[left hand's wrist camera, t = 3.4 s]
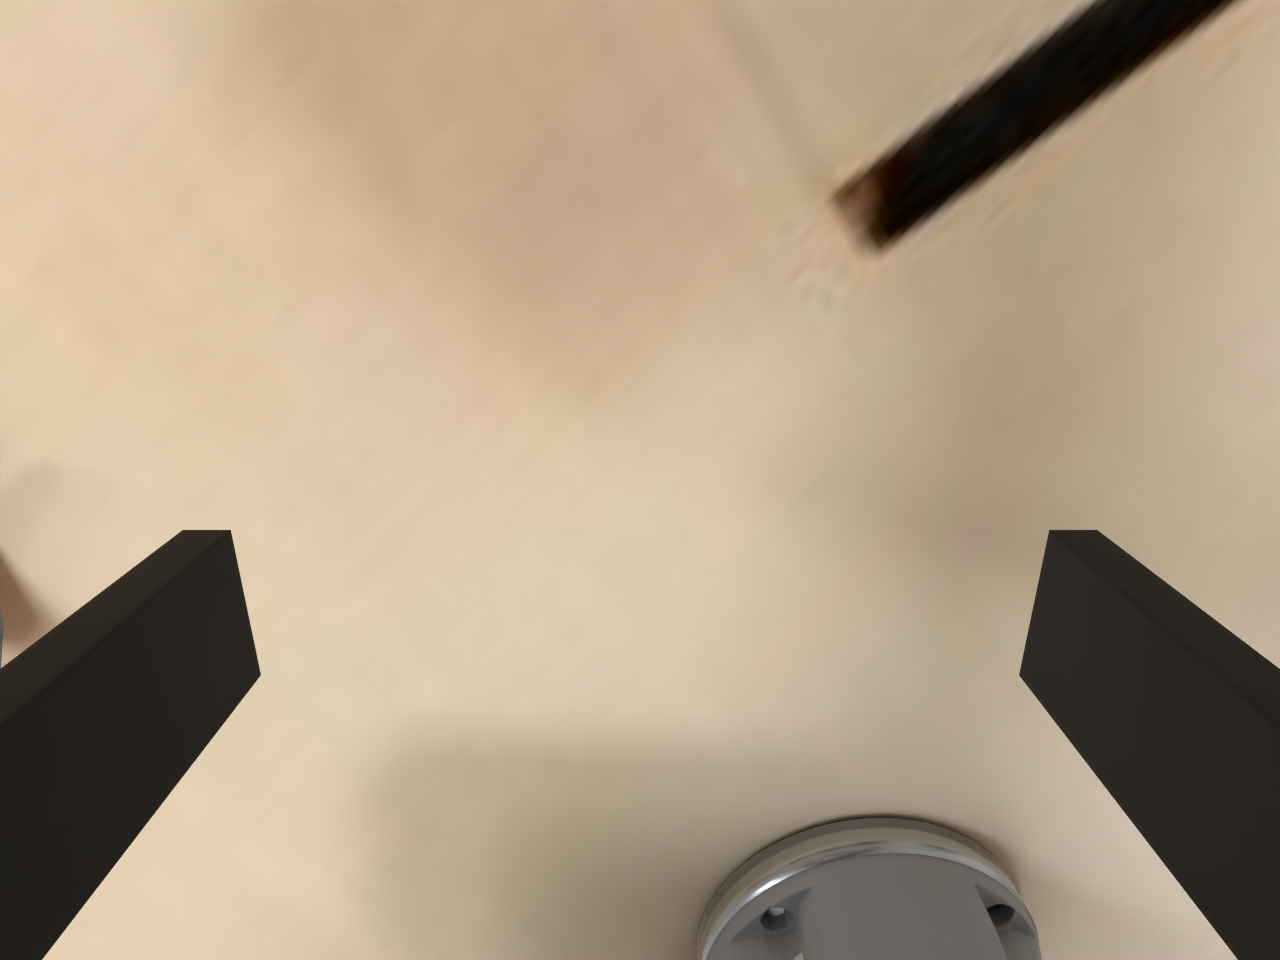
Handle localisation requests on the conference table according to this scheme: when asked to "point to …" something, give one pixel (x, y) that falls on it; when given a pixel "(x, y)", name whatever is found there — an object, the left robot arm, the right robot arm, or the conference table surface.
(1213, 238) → the conference table surface
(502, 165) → the conference table surface
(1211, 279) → the conference table surface
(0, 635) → the red white rounded piece
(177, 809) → the conference table surface
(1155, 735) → the left robot arm
